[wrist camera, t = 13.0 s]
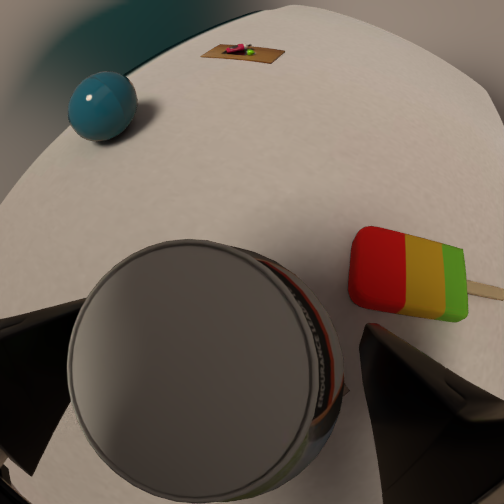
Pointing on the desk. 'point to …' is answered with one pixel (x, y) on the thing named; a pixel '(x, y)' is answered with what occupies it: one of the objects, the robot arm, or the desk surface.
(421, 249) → the popsicle
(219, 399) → the beverage can
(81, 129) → the ball
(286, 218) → the desk surface
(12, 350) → the robot arm
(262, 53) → the board
